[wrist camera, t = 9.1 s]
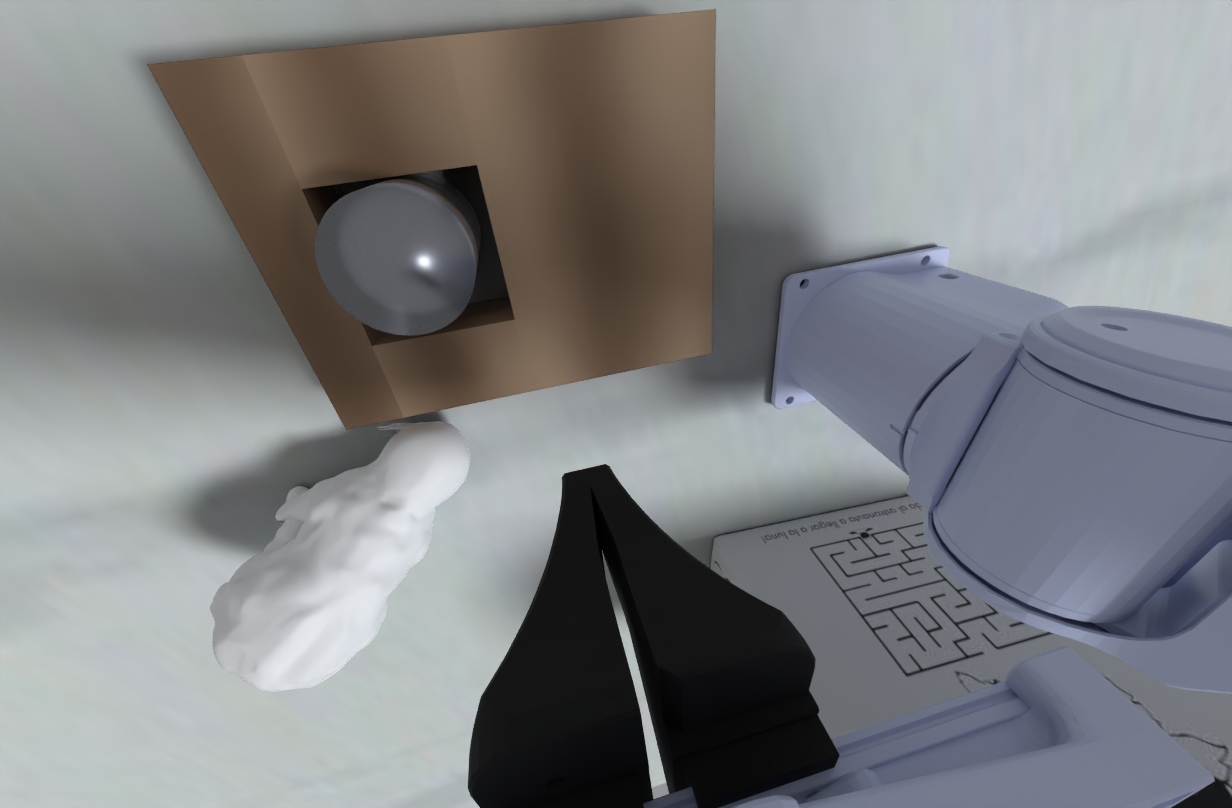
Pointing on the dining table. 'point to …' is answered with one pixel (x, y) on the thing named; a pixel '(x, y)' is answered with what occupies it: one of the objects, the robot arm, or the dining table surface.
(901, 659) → the cereal box
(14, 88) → the dining table surface
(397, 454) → the white lumpy piece
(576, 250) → the jig
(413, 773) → the dining table surface
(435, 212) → the grey dome knob
